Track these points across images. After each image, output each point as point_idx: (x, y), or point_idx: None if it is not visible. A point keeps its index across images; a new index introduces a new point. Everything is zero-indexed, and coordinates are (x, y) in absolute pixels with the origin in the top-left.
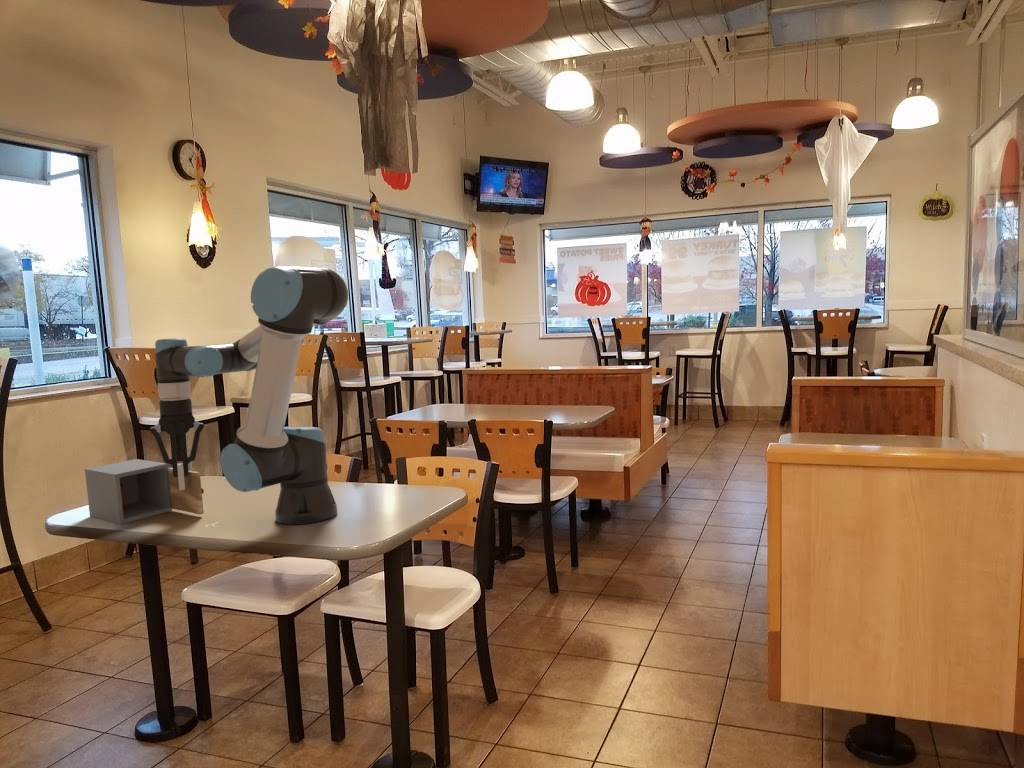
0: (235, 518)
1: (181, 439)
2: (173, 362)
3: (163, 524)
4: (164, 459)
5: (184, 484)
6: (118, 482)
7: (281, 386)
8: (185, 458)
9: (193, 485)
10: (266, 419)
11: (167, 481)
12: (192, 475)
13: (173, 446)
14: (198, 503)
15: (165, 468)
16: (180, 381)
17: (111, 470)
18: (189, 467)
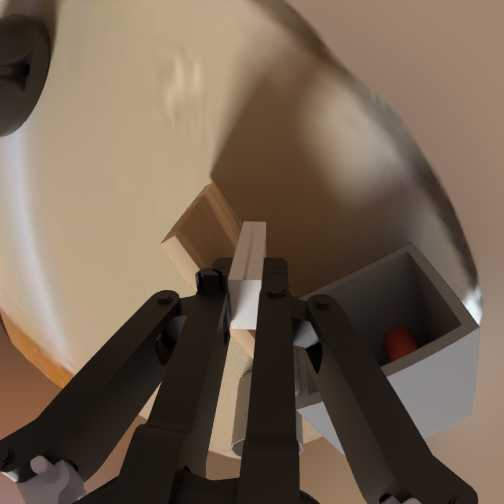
0: (124, 117)
1: (190, 424)
2: None
3: (318, 165)
4: (338, 311)
5: (241, 230)
6: (458, 311)
7: None
8: (204, 304)
9: (208, 236)
10: None
11: (299, 359)
12: (199, 256)
13: (272, 381)
14: (208, 193)
15: (304, 394)
16: None
17: (454, 387)
18: (236, 435)
